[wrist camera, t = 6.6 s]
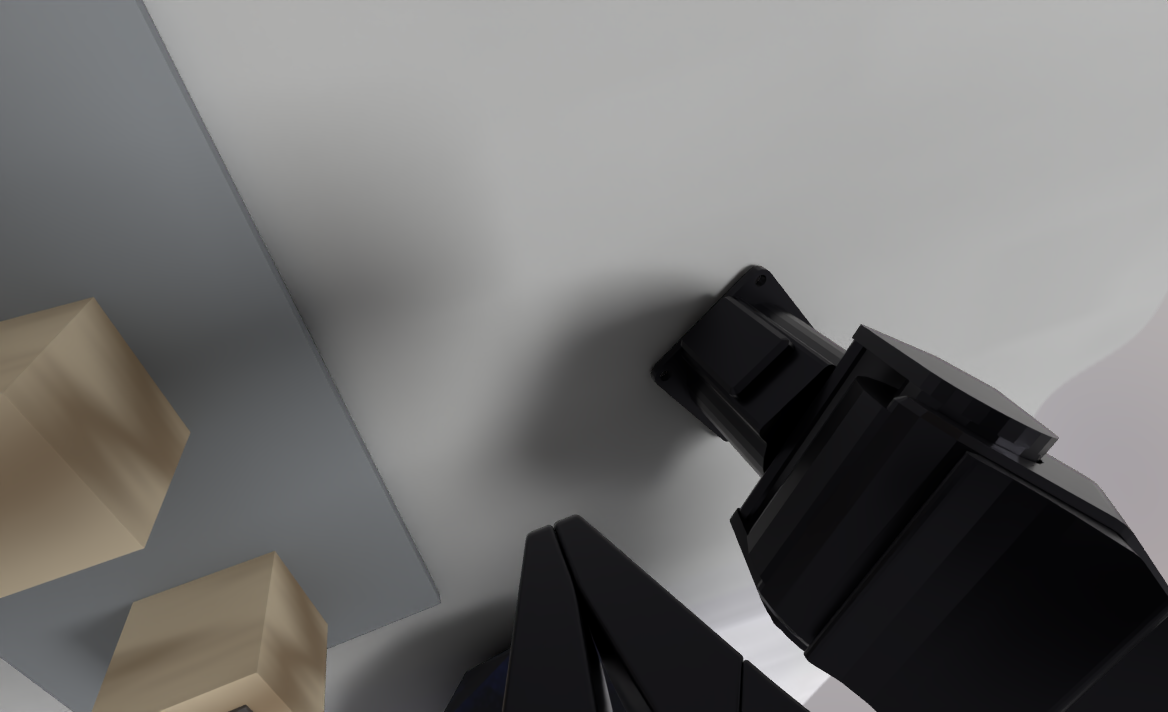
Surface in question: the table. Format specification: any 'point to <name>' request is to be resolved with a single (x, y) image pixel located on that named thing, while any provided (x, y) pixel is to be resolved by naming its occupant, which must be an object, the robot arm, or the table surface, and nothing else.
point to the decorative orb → (499, 687)
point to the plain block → (77, 445)
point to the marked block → (221, 646)
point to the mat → (177, 345)
